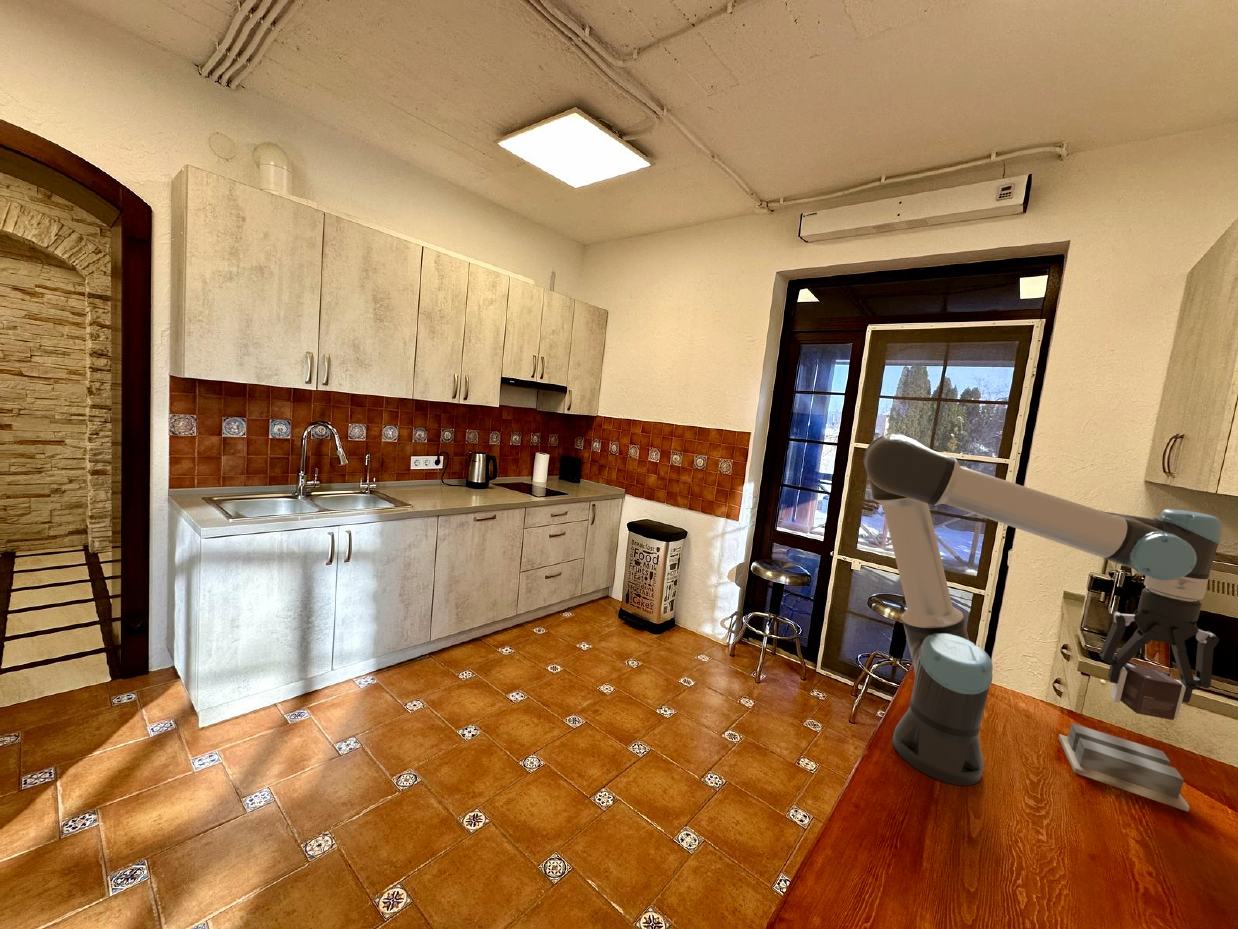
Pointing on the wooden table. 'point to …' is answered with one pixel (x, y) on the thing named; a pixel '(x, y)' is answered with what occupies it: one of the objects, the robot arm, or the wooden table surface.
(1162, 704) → the box
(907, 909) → the wooden table surface
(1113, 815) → the wooden table surface
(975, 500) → the robot arm
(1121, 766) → the stand
